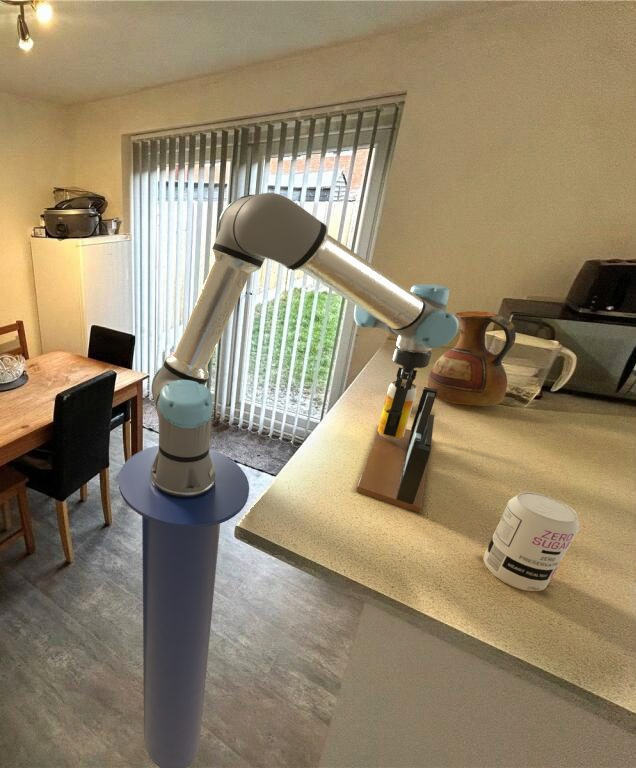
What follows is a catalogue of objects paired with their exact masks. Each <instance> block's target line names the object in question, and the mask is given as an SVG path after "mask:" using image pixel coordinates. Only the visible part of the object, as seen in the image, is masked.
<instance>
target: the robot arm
mask: <svg viewBox="0 0 636 768" xmlns="http://www.w3.org/2000/svg"><path fill="white" fill-rule="evenodd" d="M328 232H329V230H328V226H327V225H326V224H325V223H323V222H322V221H321V220H319V219H318V218H316V217H315V216H314V215H312V214H311V213H310V212H309V211H307V210H306V209H305V208H303V207H302V206H300V205H299V204H297V203H296V202H294V201H293V200H291V199H290V198H288V197H287V196H284V195H282V194H280V193H276V192H264V193H260V194H247V195H242V196H240V197H238V198H236V199H235V200H233V201H231V202H230V203H229V204H228V205H227V206H226V207H225V208H224V209H223V210H222V212H221V215H220V217H219V219H218V223H217V235H216V239H215V240H214V243H213V246H212V248H211V252H212V256H213V259H214V261H213V262H212V265H211V267H210V270H209V272H208V274H207V276H206V279H205V282H204V284H203V286H202V289H201V291H200V293H199V295H198V298H197V300H196V302H195V305H194V307H193V310H192V311H191V314H190V317H189V319H188V321H187V324H186V325H185V329H183V330H184V331H183V333H182V335H181V338H180V340H179V342H178V345H177V346H176V349H175V351H174V353H173V354H171V355H168V356H166V357H165V360H164V362H163V364H162V366H161V367H159V368H158V370H157V371H156V372H155V373H154V375H153V377H152V381H151V387H150V388H151V395H152V399H153V401H154V406H155V409H156V415H157V418H158V446H159V450H158V453H157V455H156V458H155V460H154V463H153V465H152V468H151V481H152V484H153V485H154V487H155V488H156V489H157V490H158V491H160V492H161V493H163V494H165V495H167V496H170V497H173V498H178V499H193V498H198V497H201V496H204V495H206V494H207V493H209V492H210V491H211V490H212V489H213V487H214V484H215V471H214V466H213V464H212V461H211V458H210V454H209V449H210V446H211V445H210V443H211V434H212V433H211V432H212V419H213V413H214V401H213V399H214V398H213V395H212V392H211V391H210V389H209V388H208V387H207V386H206V384H207V382H208V380H209V378H210V373H209V371H208V365H209V363H210V361H211V359H212V358H213V355H214V352H215V350H216V348H217V346H218V344H219V342H220V339H221V338H222V335H223V333H224V331H225V329H226V326H227V325H228V322H229V321H230V318H231V316H232V314H233V311H234V309H235V308H236V305H237V303H238V301H239V299H240V296H241V294H242V292H243V290H244V288H245V287H246V284H247V281H248V280H249V277H250V275H251V274H253V273H255V272H257V271H259V270H261V268H262V266H263V264H264V263H265V260H268V261H271V262H274V263H277V264H279V265H281V266H283V267H285V268H286V269H287V270H289V271H291V272H295V271H299V270H300V271H301V272H302V273H304V274H306V275H308V276H309V277H311V278H312V279H314V280H315V281H317V282H319V283H320V284H322V285H323V286H325V288H328V289H329V290H331V291H332V292H334V293H335V294H337V295H339V296H340V297H342V298H343V299H345V300H347V301H348V302H350V303H351V304H353V305H354V311H353V319H354V321H355V323H356V325H357V326H358V327H360V328H364V329H365V328H366V329H375V328H376V329H377V328H378V329H381V330H384V331H386V332H389V333H391V334H393V335H396V336H397V340H396V347H395V349H394V352H393V356H392V362H393V363H394V364H396V365H399V366H401V367H398V370H397V371H396V372H397V373H396V380H395V381H396V383H395V387H396V391H395V395H394V399H393V402H392V406H391V409H390V411H389V410H387V411H386V413H389V415H388V418H387V422H386V425H385V429H384V433H383V434H385V435H389V436H393V437H395V436H396V432H397V429H398V425H399V422H400V418H401V415H402V409H403V406H404V403H405V399H406V396H407V392H408V390H410V389H411V387H412V384H414V381H415V380H416V377H417V373H418V370H416V368H417V369H423V368H427V367H428V366H429V364H430V362H431V357H432V351H433V350H434V349H439V348H442V347H444V346H446V345H448V344H449V343H450V342H451V341H453V340H454V338H455V337H456V335H458V331H459V328H460V322H459V320H458V319H457V318H456V316H455V315H454V313H451V312H449V311H447V307H448V301H449V298H450V297H449V296H450V289H449V288H448V287H446V286H444V285H440V284H432V283H431V284H430V283H429V284H428V283H419V284H414V285H412V286H411V288H410V290H409V289H408V288H407V287H405V286H404V285H402V284H400V283H399V282H398V281H397V280H395V279H393V278H392V277H390V276H389V275H387V274H386V273H384V271H382V270H380V269H379V268H377V267H376V266H375V265H373V264H372V263H370V262H369V261H367V260H366V259H364V258H363V257H362V256H360V255H359V254H357V253H356V252H354V251H353V250H352V249H350V248H348V247H347V246H346V245H344V244H343V243H341V242H339V241H338V240H337V239H335V238H334V237H332V236H331V235H329V234H328Z"/></svg>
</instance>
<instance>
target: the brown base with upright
mask: <svg viewBox="0 0 636 768" xmlns="http://www.w3.org/2000/svg"><path fill="white" fill-rule="evenodd" d="M437 390H438V389H433V388H428V386H423V388H422V392H421V395H420V399H419V402H418V405H417V409H416V412H415V415H414V418H413V421H412V425H411V427H410V428H406V430H405V434H404V436H403V437H402V438H400V439H397V440H393V439H388V438H385V437H383V436H381V435H380V434H379V431H378V430H377V431H376V434H375V437H374V439H373V442H372V444H371V448H370V450H369V453H368V456H367V459H366V461H365V465H364V467H363V470H362V472H361V476H360V478H359V481H358V483H357V487H356V489H355V490H356V493H359V494H362V495H364V496H368V497H370V498H374V499H376V500H380V501H383V502H385V503H388V504H391V505H394V506H397V507H400V508H403V509H406V510H409V511H412V512H414V513H417V514H420V513H421V510H422V505H423V496H424V489H425V481H426V471H427V464H428V461H429V458H430V456H431V452H432V441H433V432H434V425H435V424H434V423H435V414H431V413H432V410H433V406H434V403H435V401H436V398H437V397H436V395H437ZM428 392H430V393H435V394H434V399H433V402H432V406H431V409H430V412H429V415H428V418H427V421H426V424H425V427H424V430H423V434H422V435H421V442H420V444H418V443H413V446H412V449H411V452H410V456H409V459H408V462H407V465H406V468H405V463H406V458H407V452H408V448H409V445H410V442H411V438H412V435H413V432H414V429H415V426H416V422H417V419H418V416H419V413H420V412H422V409H423V406H424V403H425V399H426V396H427V393H428ZM404 468H405V471H404ZM403 472H404V475H403ZM402 477H403V478H402Z"/></svg>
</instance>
